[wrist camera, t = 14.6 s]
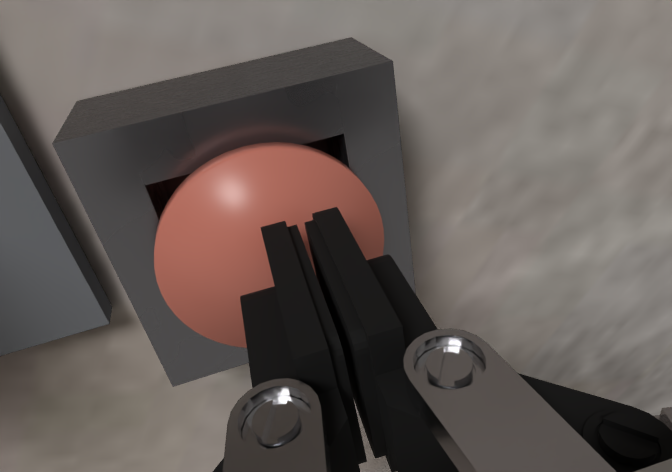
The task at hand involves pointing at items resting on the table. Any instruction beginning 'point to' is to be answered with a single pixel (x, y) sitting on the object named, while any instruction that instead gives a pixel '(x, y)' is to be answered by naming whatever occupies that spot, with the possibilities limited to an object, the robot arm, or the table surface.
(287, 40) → the table surface
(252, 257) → the button
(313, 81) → the button housing
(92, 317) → the desk mat
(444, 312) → the table surface
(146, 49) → the table surface
